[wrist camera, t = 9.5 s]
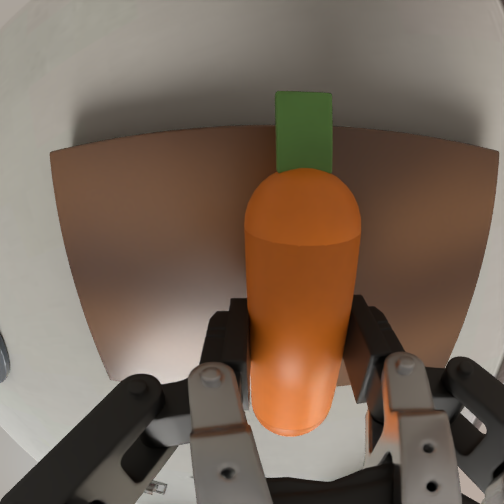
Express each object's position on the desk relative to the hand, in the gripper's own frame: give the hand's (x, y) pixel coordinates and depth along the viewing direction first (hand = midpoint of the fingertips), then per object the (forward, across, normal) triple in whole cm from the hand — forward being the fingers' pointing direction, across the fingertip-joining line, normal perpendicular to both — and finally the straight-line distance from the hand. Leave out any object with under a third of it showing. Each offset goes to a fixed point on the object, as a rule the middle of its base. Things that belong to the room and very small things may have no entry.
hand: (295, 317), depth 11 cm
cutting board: (+4, 0, 0) cm, 4 cm away
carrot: (+1, 0, -1) cm, 1 cm away
